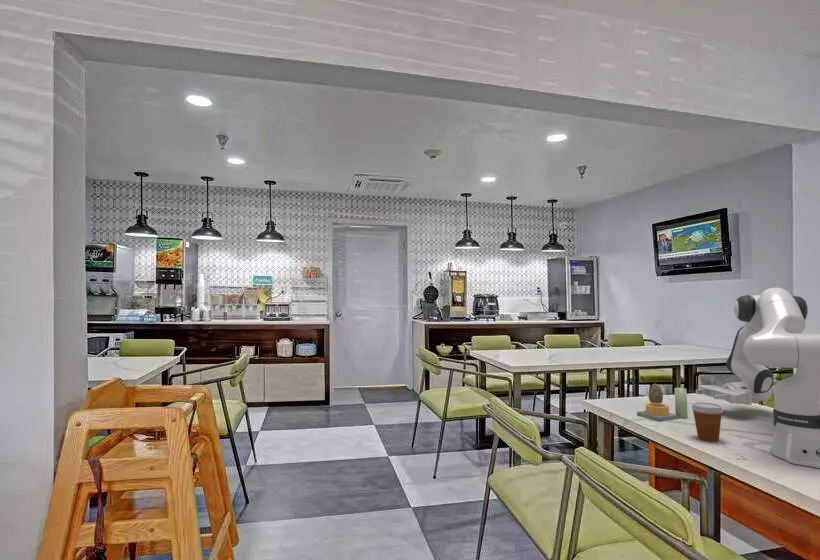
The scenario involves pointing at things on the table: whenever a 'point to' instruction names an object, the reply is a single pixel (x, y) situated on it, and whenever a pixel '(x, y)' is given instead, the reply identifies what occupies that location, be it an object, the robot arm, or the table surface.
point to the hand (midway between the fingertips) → (705, 394)
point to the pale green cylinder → (681, 402)
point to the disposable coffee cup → (707, 420)
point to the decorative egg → (655, 394)
